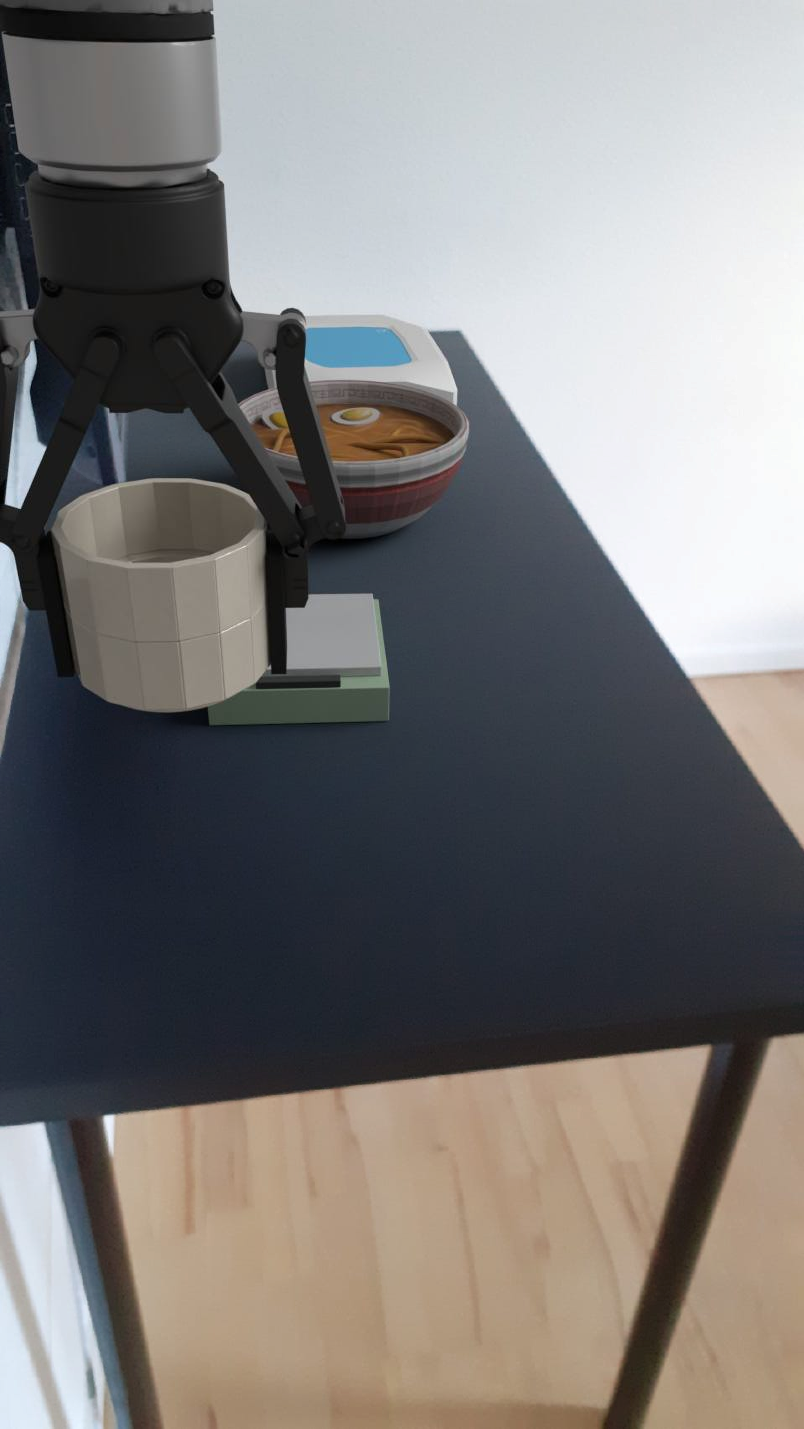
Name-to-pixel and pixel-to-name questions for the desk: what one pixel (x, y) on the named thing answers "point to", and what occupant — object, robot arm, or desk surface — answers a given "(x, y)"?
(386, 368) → the document scanner
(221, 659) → the faceted beige cup
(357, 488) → the bowl
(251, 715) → the scale
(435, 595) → the desk surface
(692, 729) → the desk surface
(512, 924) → the desk surface
